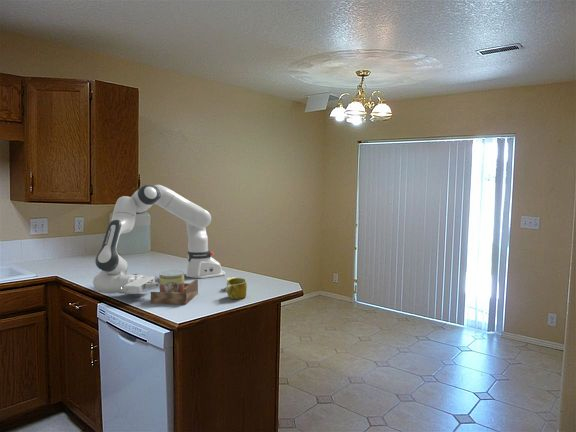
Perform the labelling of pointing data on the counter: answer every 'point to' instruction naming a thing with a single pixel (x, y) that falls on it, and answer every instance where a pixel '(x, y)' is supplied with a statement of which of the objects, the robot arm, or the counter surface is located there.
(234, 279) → the mug
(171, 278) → the canned food
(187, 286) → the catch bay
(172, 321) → the counter surface
